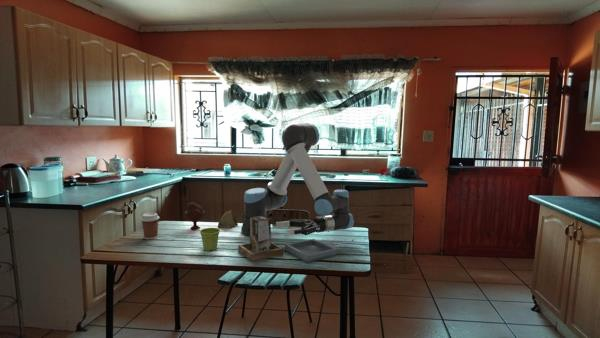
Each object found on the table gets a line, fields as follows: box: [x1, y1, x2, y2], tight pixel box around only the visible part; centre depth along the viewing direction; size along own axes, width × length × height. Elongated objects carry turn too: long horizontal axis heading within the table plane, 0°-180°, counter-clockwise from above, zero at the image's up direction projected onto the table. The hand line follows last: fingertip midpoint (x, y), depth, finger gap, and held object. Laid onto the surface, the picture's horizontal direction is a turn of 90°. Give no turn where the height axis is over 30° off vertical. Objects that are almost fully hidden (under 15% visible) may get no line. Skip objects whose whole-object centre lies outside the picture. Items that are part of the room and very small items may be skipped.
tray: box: [284, 238, 338, 264], centre depth 162 cm, size 18×16×3 cm
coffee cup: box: [140, 212, 161, 240], centre depth 184 cm, size 9×9×12 cm
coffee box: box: [249, 216, 272, 254], centre depth 161 cm, size 9×6×16 cm
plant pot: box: [199, 227, 221, 252], centre depth 168 cm, size 9×9×9 cm
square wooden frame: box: [237, 241, 284, 262], centre depth 162 cm, size 15×15×3 cm
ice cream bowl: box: [183, 201, 206, 231], centre depth 200 cm, size 11×11×15 cm
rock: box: [217, 209, 239, 228], centre depth 206 cm, size 11×9×10 cm
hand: (281, 228), depth 165 cm, fingers open, 13 cm apart
